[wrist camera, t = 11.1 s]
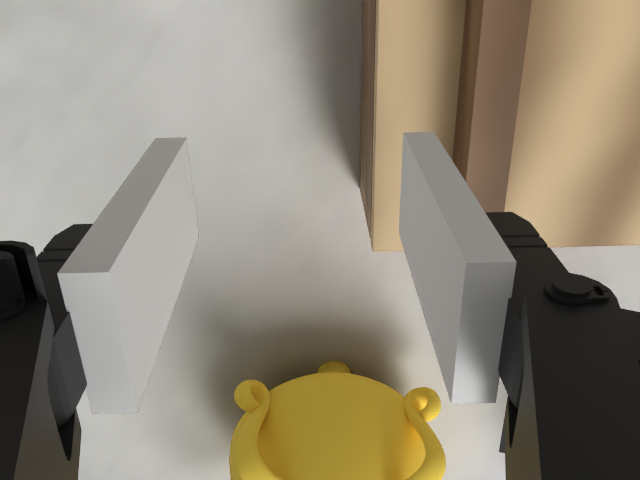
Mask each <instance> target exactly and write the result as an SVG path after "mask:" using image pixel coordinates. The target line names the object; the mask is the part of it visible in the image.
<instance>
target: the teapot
mask: <svg viewBox="0 0 640 480" xmlns="http://www.w3.org/2000/svg"><path fill="white" fill-rule="evenodd" d="M234 399H235V402H236V403H237V405H238V406H239V407H240V408H241V409H242V410H244V411H246V412H245V413H244V415H243V416H242V418H241V419H240V421H239V422H238V424H237V426H236V428H235V430H234V433H233V436H232V440H231V447H230V457H229V464H230V476H231V480H441V479H442V477H443V475H444V472H445V467H446V460H445V454H444V451H443V448H442V446H441V444H440V442H439V440H438V438H437V437H436V435H435V434H434V432H433V431H432V429H431V428H430V427H429V425H428V424H427V422H426V421H431V420H433V419H434V418H436V417H437V415H438V414H439V412H440V409H441V401H440V398H439V396H438V395H437V393H436V392H435V391H434V390H432V389H430V388H426V387H420V388H415V389H413V390H411V391H410V392H408V394H407V395H406V396H405V397H403V396H402V395H401V394H400V393H399V392H397V391H395V390H394V389H392V388H390V387H389V386H387V385H385V384H383V383H380V382H378V381H376V380H373V379H370V378H367V377H364V376H360V375H355V374H351V371H350V369H349V367H348V366H347V365H346V364H345V363H343V362H340V361H328V362H325V363H324V364H322V365H321V366H320V367H319V368H318V370H317V373H315V374H310V375H305V376H301V377H298V378H295V379H292V380H289V381H287V382H285V383H283V384H281V385H279V386H277V387H275V388H273V389H271V390H270V391H268V389H267V387H266V386H265V385H264V384H263V383H261V382H259V381H257V380H245V381H243V382H242V383H240V384H239V385H238V386H237V388H236V390H235V392H234Z"/></svg>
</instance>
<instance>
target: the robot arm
mask: <svg viewBox="0 0 640 480" xmlns="http://www.w3.org/2000/svg"><path fill="white" fill-rule="evenodd" d="M399 235H400V238H401V242H402V245H403V248H404V251H405V255H406V258H407V261H408V264H409V268H410V271H411V274H412V278H413V281H414V284H415V287H416V291H417V294H418V297H419V300H420V304H421V307H422V310H423V313H424V317H425V320H426V323H427V327H428V330H429V333H430V336H431V340H432V343H433V346H434V349H435V353H436V356H437V359H438V363H439V366H440V369H441V372H442V376H443V379H444V382H445V385H446V389H447V392H448V395H449V398H450V402H451V404H462V403H496V397H497V391H498V384H499V377H501V380H502V382H503V384H504V386H505V389H506V391H507V393H508V399H507V405H506V411H505V418H504V424H503V430H502V437H501V443H500V449H499V452H502V453H505V462H506V480H640V312H635V311H631V310H626V309H621V308H620V306H619V303H618V300H617V298H616V297H615V295H614V294H613V292H612V291H611V290H610V289H609V288H607V287H606V286H604V285H603V284H601V283H600V282H598V281H596V280H593V279H590V278H588V277H585V276H582V275H577V274H572V273H569V272H568V271H567V270H566V268H565V267H564V266H563V264H562V263H561V262H560V260H559V259H558V258H557V257H556V255H555V254H554V253H553V251H552V250H551V249H550V248H548V245H547V243H546V242H545V241H544V240H543V238H542V237H540V234H539V233H538V232H537V230H536V229H535V228H534V227H533V225H532V224H531V223H530V222H529V221H527V220H525V219H524V218H522V217H520V216H518V215H517V214H515V213H513V212H485V211H484V210H483V208H482V207H481V205H480V203H479V202H478V200H477V199H476V197H475V196H474V194H473V192H472V191H471V189H470V188H469V186H468V185H467V183H466V181H465V180H464V178H463V177H462V175H461V174H460V172H459V170H458V169H457V167H456V166H455V164H454V163H453V161H452V159H451V158H450V156H449V155H448V153H447V152H446V150H445V148H444V147H443V145H442V144H441V142H440V140H439V139H438V137H437V136H436V134H435V133H434V132H404V133H403V147H402V169H401V191H400V213H399ZM198 238H199V234H198V226H197V218H196V210H195V201H194V193H193V185H192V177H191V169H190V160H189V152H188V144H187V138H156V139H155V140H154V141H153V143H152V144H151V145H150V147H149V148H148V150H147V151H146V152H145V154H144V155H143V156H142V158H141V159H140V161H139V162H138V163H137V165H136V166H135V167H134V169H133V170H132V172H131V173H130V174H129V176H128V177H127V178H126V180H125V181H124V183H123V184H122V185H121V187H120V188H119V189H118V191H117V192H116V193H115V195H114V196H113V198H112V199H111V200H110V202H109V203H108V204H107V206H106V207H105V209H104V210H103V211H102V213H101V214H100V215H99V217H98V218H97V220H96V221H95V222H94V224H74V225H72V226H70V227H69V228H67V229H65V230H64V231H62V232H60V233H59V234H57V235H55V236H54V237H53V238H52V239H51V241H50V242H49V243H48V244H47V245H46V247H45V248H44V252H41V253H40V254H39V255H38V256H37V258H36V255H35V251H34V247H32V246H30V245H29V244H27V243H24V242H17V241H0V480H78V469H79V456H80V442H81V426H80V422H79V418H78V414H77V410H76V407H77V405H78V402H79V400H80V398H81V396H82V394H83V392H84V390H85V388H86V391H87V395H88V399H89V403H90V407H91V411H92V414H101V413H137V412H138V409H139V406H140V403H141V400H142V397H143V395H144V392H145V389H146V386H147V383H148V380H149V377H150V375H151V372H152V369H153V366H154V363H155V360H156V358H157V355H158V352H159V349H160V346H161V343H162V341H163V338H164V335H165V332H166V329H167V326H168V323H169V321H170V318H171V315H172V312H173V309H174V306H175V304H176V301H177V298H178V295H179V292H180V289H181V286H182V284H183V281H184V278H185V275H186V272H187V269H188V267H189V264H190V261H191V258H192V255H193V252H194V250H195V247H196V244H197V241H198Z"/></svg>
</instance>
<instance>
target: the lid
mask: <svg viewBox="0 0 640 480" xmlns="http://www.w3.org/2000/svg"><path fill="white" fill-rule="evenodd" d="M404 132H434V133H435V134H436V136H437V137H438V139H439V140H440V142H441V144H442V145H443V147H444V148H445V150H446V152H447V153H448V155H449V156H450V158H451V159H452V161H453V163H454V164H455V166H456V167H457V169H458V170H459V172H460V174H461V175H462V177H463V178H464V180H465V181H466V183H467V185H468V186H469V188H470V189H471V191H472V192H473V194H474V196H475V197H476V199H477V200H478V202H479V203H480V205H481V207H482V208H483V210H484V211H485V212H513V213H515V214H517V215H518V216H520V217H522V218H524V219H525V220H527V221H529V222H530V223H531V224H532V225H533V227H534V228H535V229H536V230H537V232H538V233H539V234H540V237H542V238H543V240H544V241H545V242H546V243H547V245H548V247H581V246H621V245H640V0H376V34H375V78H374V123H373V167H372V212H371V245H372V250H373V252H384V251H404V248H403V245H402V242H401V238H400V235H399V213H400V191H401V169H402V147H403V133H404Z"/></svg>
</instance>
